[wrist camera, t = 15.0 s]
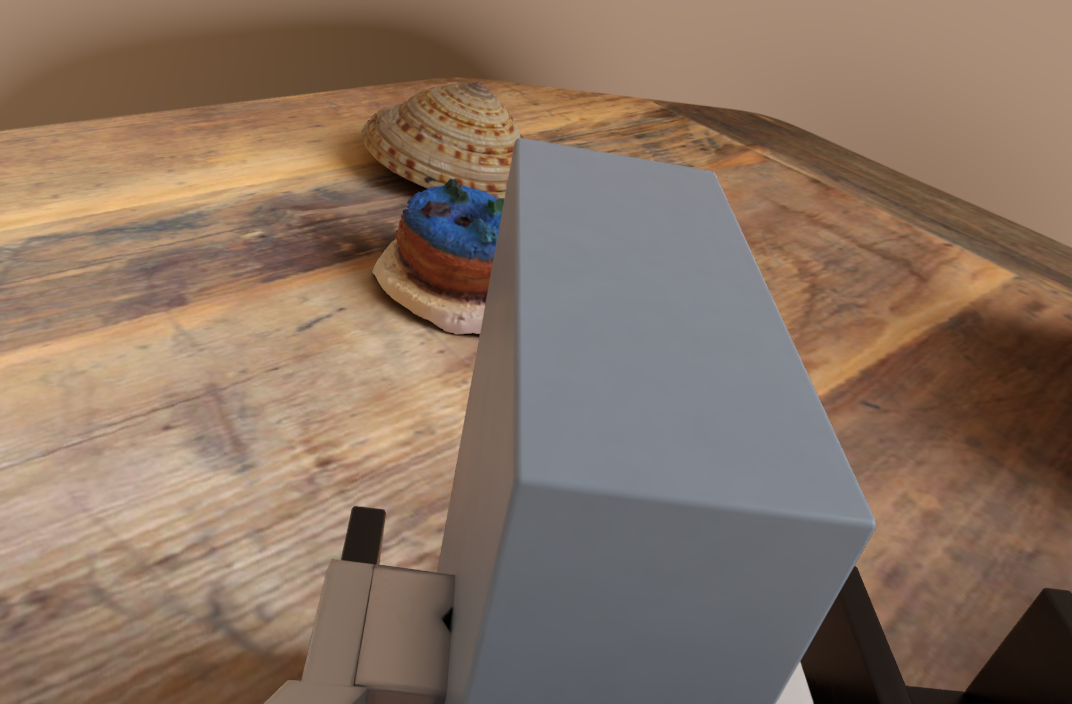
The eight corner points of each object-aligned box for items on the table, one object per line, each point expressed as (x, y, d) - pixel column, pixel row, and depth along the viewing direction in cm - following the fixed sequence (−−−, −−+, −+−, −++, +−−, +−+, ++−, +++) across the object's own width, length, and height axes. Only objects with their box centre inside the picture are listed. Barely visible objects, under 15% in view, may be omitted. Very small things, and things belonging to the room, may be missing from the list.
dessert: (333, 231, 36) (427, 119, 35) (436, 289, 41) (520, 193, 40) (416, 353, 31) (528, 227, 30) (520, 402, 36) (619, 296, 35)
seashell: (382, 81, 47) (525, 55, 45) (412, 180, 50) (547, 160, 48) (324, 130, 40) (489, 102, 38) (361, 241, 43) (517, 221, 41)
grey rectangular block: (368, 1108, 12) (513, 477, 6) (411, 710, 17) (516, 130, 11) (543, 1115, 13) (881, 525, 6) (536, 722, 18) (713, 164, 11)
